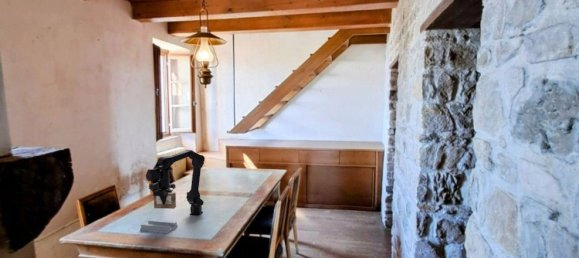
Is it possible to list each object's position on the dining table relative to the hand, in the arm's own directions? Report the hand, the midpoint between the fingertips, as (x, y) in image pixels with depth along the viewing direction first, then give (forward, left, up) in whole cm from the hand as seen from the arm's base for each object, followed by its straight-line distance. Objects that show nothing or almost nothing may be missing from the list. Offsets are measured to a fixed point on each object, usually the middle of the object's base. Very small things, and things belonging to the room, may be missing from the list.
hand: (165, 203), depth 191 cm
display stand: (0, +7, -13) cm, 14 cm away
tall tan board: (0, 0, -3) cm, 3 cm away
